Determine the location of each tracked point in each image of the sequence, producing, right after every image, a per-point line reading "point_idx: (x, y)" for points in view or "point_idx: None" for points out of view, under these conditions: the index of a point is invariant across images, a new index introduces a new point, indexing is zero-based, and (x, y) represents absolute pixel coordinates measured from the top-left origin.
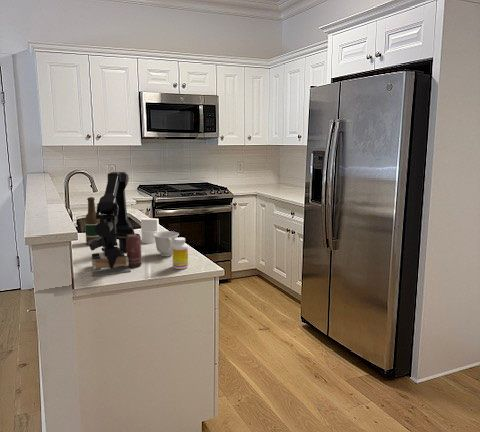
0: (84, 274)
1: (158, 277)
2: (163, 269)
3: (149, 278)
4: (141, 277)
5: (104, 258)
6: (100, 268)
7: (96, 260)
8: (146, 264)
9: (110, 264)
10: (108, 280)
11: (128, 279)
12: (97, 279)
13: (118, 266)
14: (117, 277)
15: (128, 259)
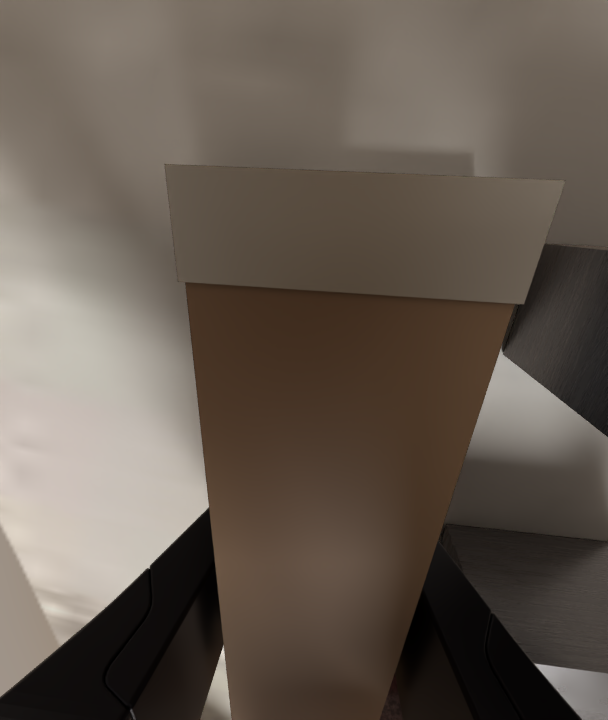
0: (396, 20)
1: None
2: (216, 699)
3: (50, 608)
4: (78, 582)
5: (405, 565)
6: (513, 350)
7: (310, 339)
8: None
9: (206, 523)
10: (25, 349)
11: (41, 506)
12: (75, 227)
13: (448, 535)
14: (111, 446)
15: (388, 701)
